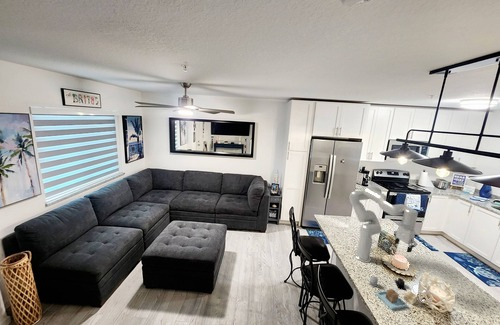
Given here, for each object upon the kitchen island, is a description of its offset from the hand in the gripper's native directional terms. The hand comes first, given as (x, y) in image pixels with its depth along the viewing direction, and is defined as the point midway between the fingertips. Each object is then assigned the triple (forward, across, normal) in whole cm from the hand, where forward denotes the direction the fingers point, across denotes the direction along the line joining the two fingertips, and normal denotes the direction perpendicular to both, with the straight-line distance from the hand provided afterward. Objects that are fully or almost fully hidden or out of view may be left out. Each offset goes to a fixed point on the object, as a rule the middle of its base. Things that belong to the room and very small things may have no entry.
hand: (402, 247), depth 148 cm
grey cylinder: (+28, 0, -19) cm, 34 cm away
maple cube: (+28, +16, -5) cm, 33 cm away
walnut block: (+28, +14, -18) cm, 36 cm away
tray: (+28, +14, -18) cm, 36 cm away
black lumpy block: (+29, +4, +2) cm, 29 cm away
